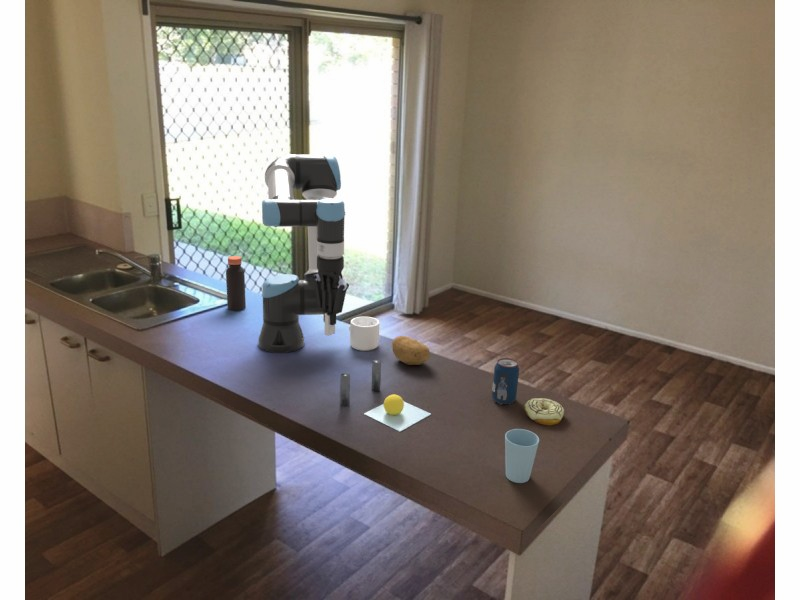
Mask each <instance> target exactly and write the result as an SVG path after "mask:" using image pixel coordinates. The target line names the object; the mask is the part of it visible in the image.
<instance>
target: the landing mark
mask: <svg viewBox="0 0 800 600" xmlns="http://www.w3.org/2000/svg"><path fill="white" fill-rule="evenodd" d="M403 402H404V408H403V410H402V411H401V412H400V413H399V414H397V415H391V414H389V413H387V412H386V411H385V409H384V403H383V404H380V405H378V406H376V407H374V408H372V409H370V410H368V411H366V412H364V413H363V415H365V416H367V417H369V418H370V419H373V420H375V421H377V422H379V423H381V424H383V425H384V426H388V427H389V428H391V429H393V430H395V431H397V432H400V433H401V432H403V431H404V430H406V429H408V428H410V427H412V426H414V425H415V424H417V423H419V422H420V421H423V420H424V419H426V418H427V417H430V416H431V415H432V413H430V412H428V411H426V410H424V409H421V408H420V407H417V406H415V405H412V404H410V403H409V402H406V401H404V400H403Z"/></svg>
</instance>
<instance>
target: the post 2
mask: <svg viewBox="0 0 800 600" xmlns="http://www.w3.org/2000/svg"><path fill="white" fill-rule="evenodd" d="M371 364H372V366H371V389H370V391H372V392H374V393H379V392H381V387H382V385H381V383H382V381H381V380H382V361H381V360H380V359H374V360H372V361H371Z"/></svg>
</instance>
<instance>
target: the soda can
mask: <svg viewBox="0 0 800 600" xmlns="http://www.w3.org/2000/svg"><path fill="white" fill-rule="evenodd" d="M519 375H520V367H519V364H518V361H517V360H515V359H513V358H510V357H509V358H508V357H502V358H499V359H497V361H496V364H495V365H494V370H493V377H492V378H493V380H492V390H491V396H492V397H491V398H492V399H493V402H495V403H496V402H497V403H496V404H498V403H500V404H499V405H502V404H509V405H511V403H512V404H513V403H514V402H515V401H516V399H517V394H518V383H519Z"/></svg>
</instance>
